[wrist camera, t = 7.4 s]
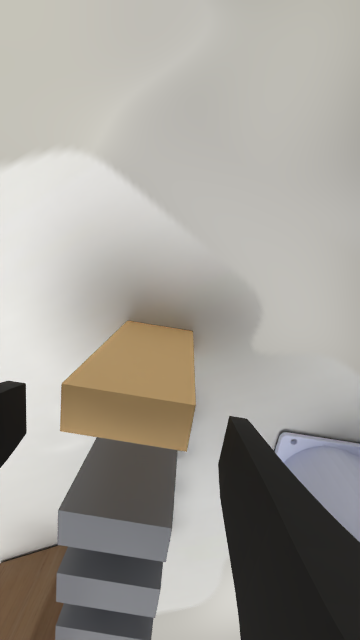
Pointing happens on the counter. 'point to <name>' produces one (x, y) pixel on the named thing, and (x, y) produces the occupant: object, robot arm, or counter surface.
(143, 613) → the slate domino
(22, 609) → the wooden block
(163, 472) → the slate domino
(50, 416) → the counter surface
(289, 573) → the robot arm
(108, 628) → the slate domino
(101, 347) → the ochre domino
